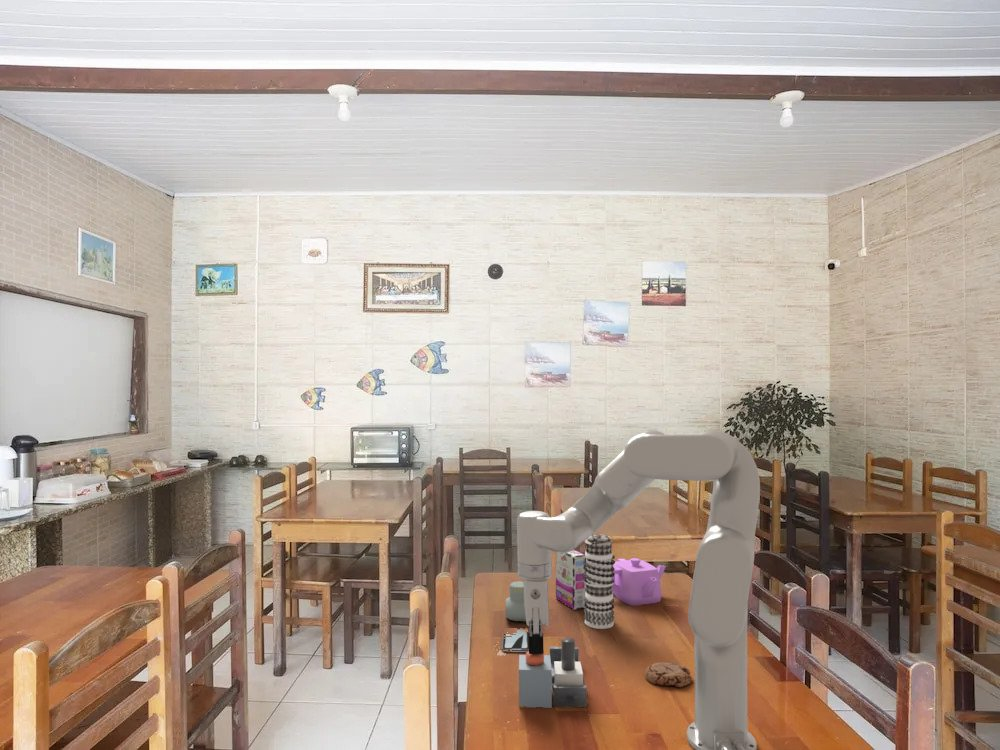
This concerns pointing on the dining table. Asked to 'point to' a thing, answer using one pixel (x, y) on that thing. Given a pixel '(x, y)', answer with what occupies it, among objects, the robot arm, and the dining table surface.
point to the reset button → (534, 658)
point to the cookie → (668, 674)
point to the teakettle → (637, 581)
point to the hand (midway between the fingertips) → (536, 652)
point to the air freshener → (516, 602)
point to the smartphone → (516, 641)
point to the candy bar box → (570, 579)
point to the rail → (567, 686)
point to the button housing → (535, 683)
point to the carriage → (567, 666)
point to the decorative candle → (599, 582)
